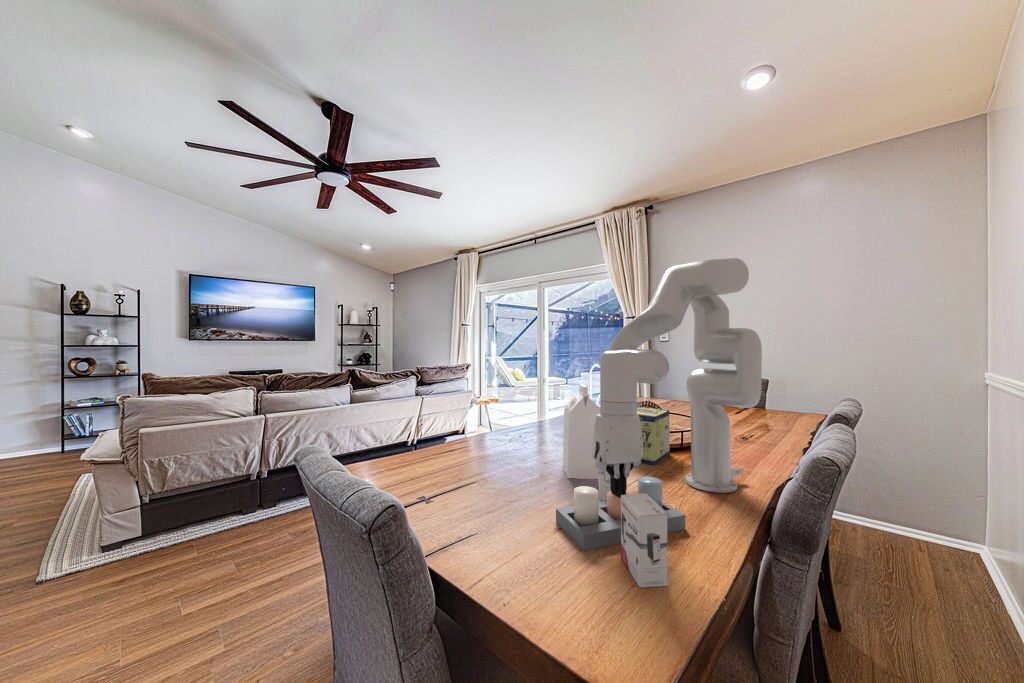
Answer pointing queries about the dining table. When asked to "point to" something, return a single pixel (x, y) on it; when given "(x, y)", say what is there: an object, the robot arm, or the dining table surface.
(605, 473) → the ink cartridge box
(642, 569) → the ink box
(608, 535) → the gray compartment tray
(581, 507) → the button cream
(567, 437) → the milk
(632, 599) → the dining table surface
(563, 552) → the dining table surface
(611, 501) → the peach cylinder
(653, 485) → the button slate
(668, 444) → the protein box
